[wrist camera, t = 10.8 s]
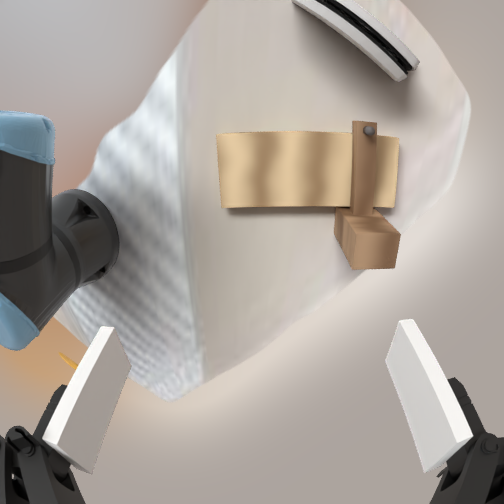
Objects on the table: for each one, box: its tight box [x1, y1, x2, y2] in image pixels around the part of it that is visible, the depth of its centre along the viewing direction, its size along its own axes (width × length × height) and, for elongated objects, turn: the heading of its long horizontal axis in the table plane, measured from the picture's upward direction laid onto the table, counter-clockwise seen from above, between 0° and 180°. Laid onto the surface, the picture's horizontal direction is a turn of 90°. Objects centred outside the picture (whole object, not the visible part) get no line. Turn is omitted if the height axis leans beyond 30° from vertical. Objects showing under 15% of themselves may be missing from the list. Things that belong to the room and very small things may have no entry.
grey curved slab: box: [292, 0, 420, 82], centre depth 22 cm, size 17×5×10 cm, turn 54°
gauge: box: [334, 121, 401, 270], centre depth 30 cm, size 5×15×10 cm, turn 2°
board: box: [216, 131, 399, 208], centre depth 33 cm, size 22×9×2 cm, turn 92°
